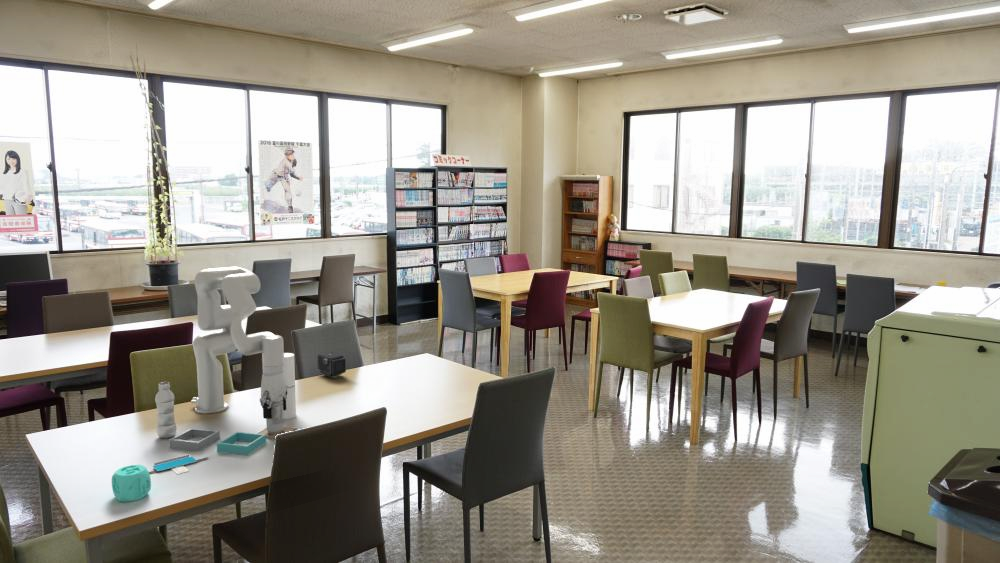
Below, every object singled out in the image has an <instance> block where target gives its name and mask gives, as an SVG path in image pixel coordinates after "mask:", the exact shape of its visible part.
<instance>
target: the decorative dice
mask: <svg viewBox="0 0 1000 563" xmlns="http://www.w3.org/2000/svg"><path fill="white" fill-rule="evenodd" d="M149 472H150V471H149V470H148V468H147V467H146V466H145V465H143V464H133V465H126V466H123V467H120V468H119V469H117V470H116V471H115V472H113V475H112V476H111V488H112V492H113V494H114V495H113V496H114V498H115V499H116V500H117V501H118V502H122V503H123V502H124V503H130V502H135V501H138V500H141V499H143V498H144V497H146V496H147V495H148V493H149V492H150V490H151V488H152V482H151V481H152V480H151V475H150V474H149Z"/></svg>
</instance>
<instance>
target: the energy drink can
mask: <svg viewBox="0 0 1000 563" xmlns="http://www.w3.org/2000/svg"><path fill="white" fill-rule="evenodd" d="M268 400H270V399H268ZM267 404H269V402H267ZM270 408H272V418H271V419H266V420H265V421H266V428H267V431H268V432H269V433H270V434H277V433H281V432H282V430H283V429H284V427H285V426H284V425H285V424H284V423H285V422H284V420H285V419H284V417H283V396H282V394H280V395H279V396H278V398H277V400H276V401H274V402H272V405H271V407H270Z"/></svg>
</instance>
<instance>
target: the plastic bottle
mask: <svg viewBox="0 0 1000 563" xmlns="http://www.w3.org/2000/svg"><path fill="white" fill-rule="evenodd" d="M170 384H171V383H170V382H169V381H163V382H159V383H158V392H157V393H156V394H155V398H154V401H155V405H156V406H155V407H156V411H157V427H156V433H157V436H158V437H159V438H162V439H167V438H173V437H175V436H176V433H177V425H176V420H175V414H174V413H175V412H174V409H175V408H174V407H175V406H174V405H175V398H176V397H175V394H174V393H173V391H172V390H171V389H170V388H171V385H170Z"/></svg>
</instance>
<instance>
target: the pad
mask: <svg viewBox="0 0 1000 563" xmlns="http://www.w3.org/2000/svg"><path fill="white" fill-rule="evenodd" d="M297 429H298V428H297V427H290V426H284V429H283V430H282V432H281V433H285V432H289V431H294V430H295V431H297ZM295 431H294V432H295ZM281 433H277V434H281ZM256 434H264V435H266V439H267V438H268V440H269V439H270V440H276V439H275V436H276V435H277V434H270V433H269V432H268V431H267V427H266V428H264V429H262V430H261V431H259V432H258V433H256Z"/></svg>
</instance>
